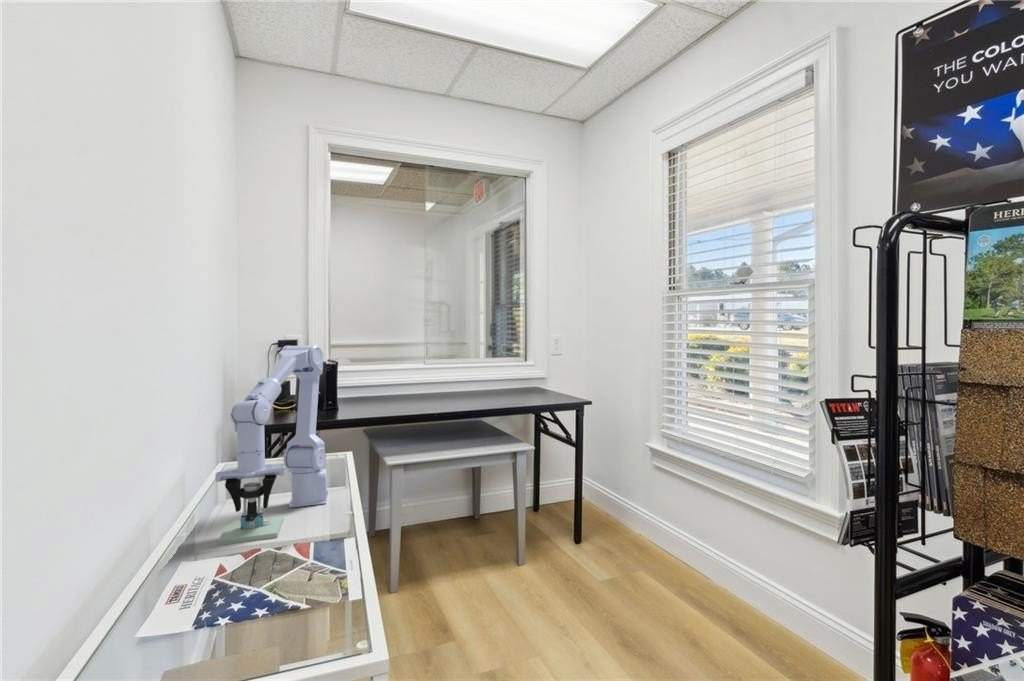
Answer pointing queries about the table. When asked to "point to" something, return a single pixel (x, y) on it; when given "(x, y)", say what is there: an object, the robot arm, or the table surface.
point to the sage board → (251, 532)
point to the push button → (252, 506)
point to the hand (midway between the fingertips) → (252, 508)
